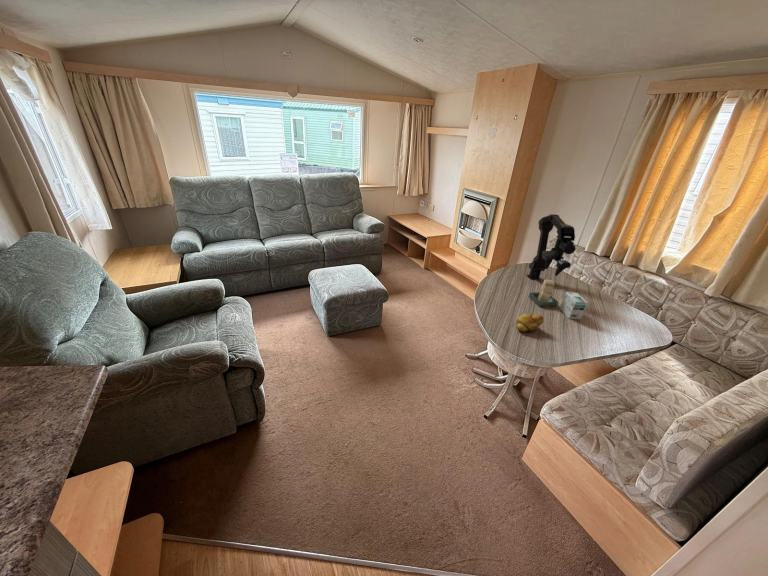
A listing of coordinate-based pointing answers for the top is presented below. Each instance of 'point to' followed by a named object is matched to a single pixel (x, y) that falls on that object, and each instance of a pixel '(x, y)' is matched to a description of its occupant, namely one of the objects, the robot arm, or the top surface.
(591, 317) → the top surface
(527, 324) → the bread roll
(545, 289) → the tall beech block
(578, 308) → the light bulb box
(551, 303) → the grey green tray
